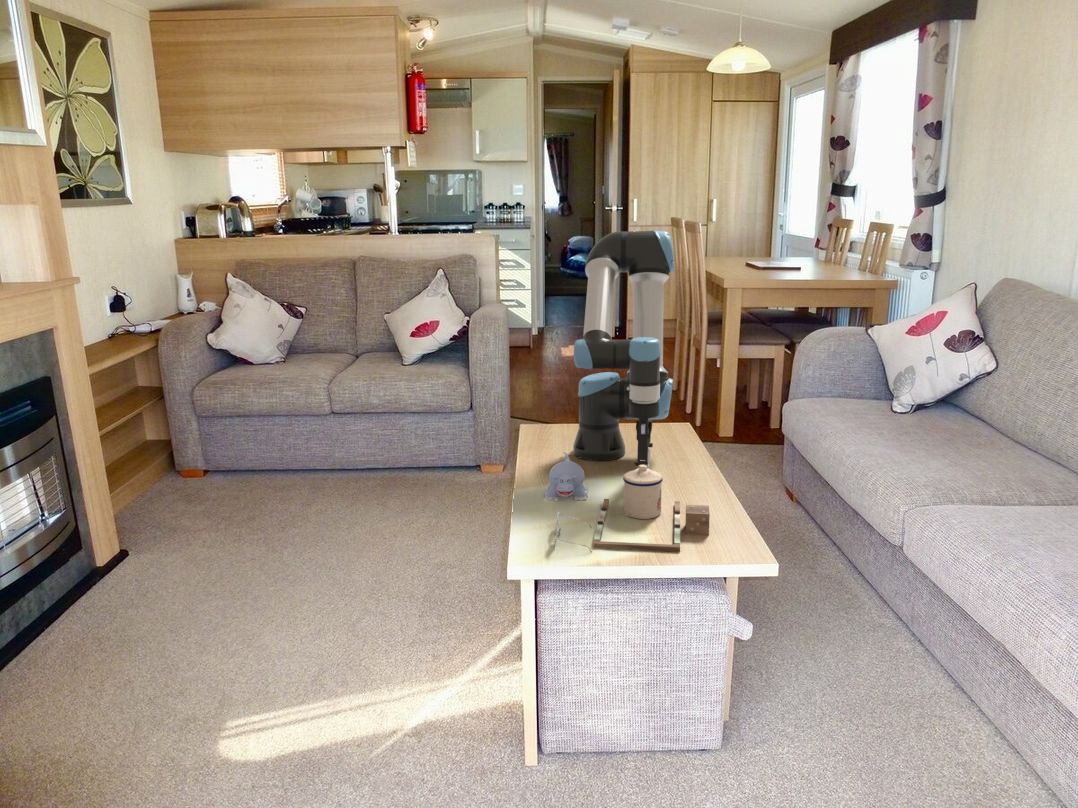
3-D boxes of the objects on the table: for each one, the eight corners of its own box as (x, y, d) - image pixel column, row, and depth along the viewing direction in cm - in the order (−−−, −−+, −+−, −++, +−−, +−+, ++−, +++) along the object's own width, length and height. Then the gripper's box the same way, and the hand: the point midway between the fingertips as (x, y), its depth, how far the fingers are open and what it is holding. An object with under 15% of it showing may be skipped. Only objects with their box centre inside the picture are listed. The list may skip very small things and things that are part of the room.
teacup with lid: (667, 518, 183) (667, 470, 180) (628, 521, 182) (628, 473, 179) (652, 499, 195) (652, 454, 192) (616, 502, 194) (616, 457, 191)
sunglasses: (555, 528, 180) (558, 508, 179) (591, 534, 180) (595, 514, 179) (552, 555, 167) (556, 533, 165) (592, 561, 167) (596, 539, 165)
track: (604, 502, 194) (604, 495, 193) (679, 505, 191) (679, 498, 190) (593, 547, 169) (593, 539, 168) (680, 551, 166) (680, 543, 165)
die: (685, 525, 179) (685, 504, 178) (708, 526, 178) (708, 505, 177) (685, 534, 174) (686, 513, 173) (708, 535, 174) (709, 513, 172)
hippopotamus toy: (543, 509, 191) (542, 471, 189) (545, 487, 205) (545, 452, 203) (587, 509, 190) (587, 471, 188) (587, 487, 205) (587, 451, 202)
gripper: (631, 388, 210) (631, 464, 215) (626, 412, 186) (625, 497, 192) (660, 388, 209) (659, 465, 214) (658, 413, 185) (657, 498, 190)
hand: (643, 480), depth 203 cm, fingers open, 13 cm apart
